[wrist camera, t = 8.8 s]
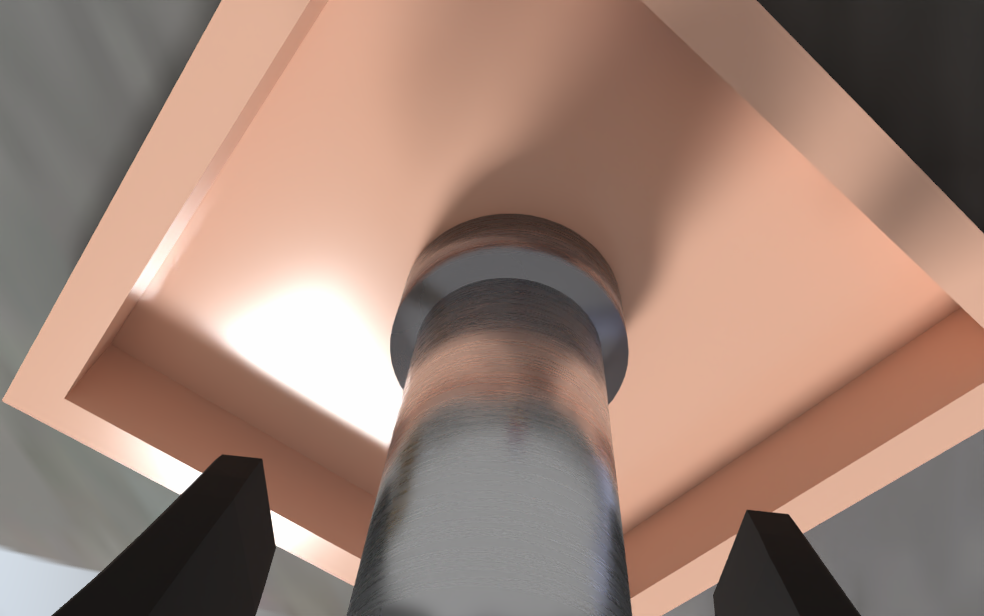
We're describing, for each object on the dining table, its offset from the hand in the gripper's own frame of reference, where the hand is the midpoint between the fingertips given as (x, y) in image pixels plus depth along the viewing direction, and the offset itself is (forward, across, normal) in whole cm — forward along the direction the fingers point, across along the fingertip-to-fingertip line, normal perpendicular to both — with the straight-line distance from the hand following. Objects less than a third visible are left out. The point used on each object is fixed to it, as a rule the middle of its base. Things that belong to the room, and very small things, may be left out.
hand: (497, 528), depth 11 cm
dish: (+6, 0, 0) cm, 6 cm away
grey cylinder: (+5, 0, 0) cm, 5 cm away
